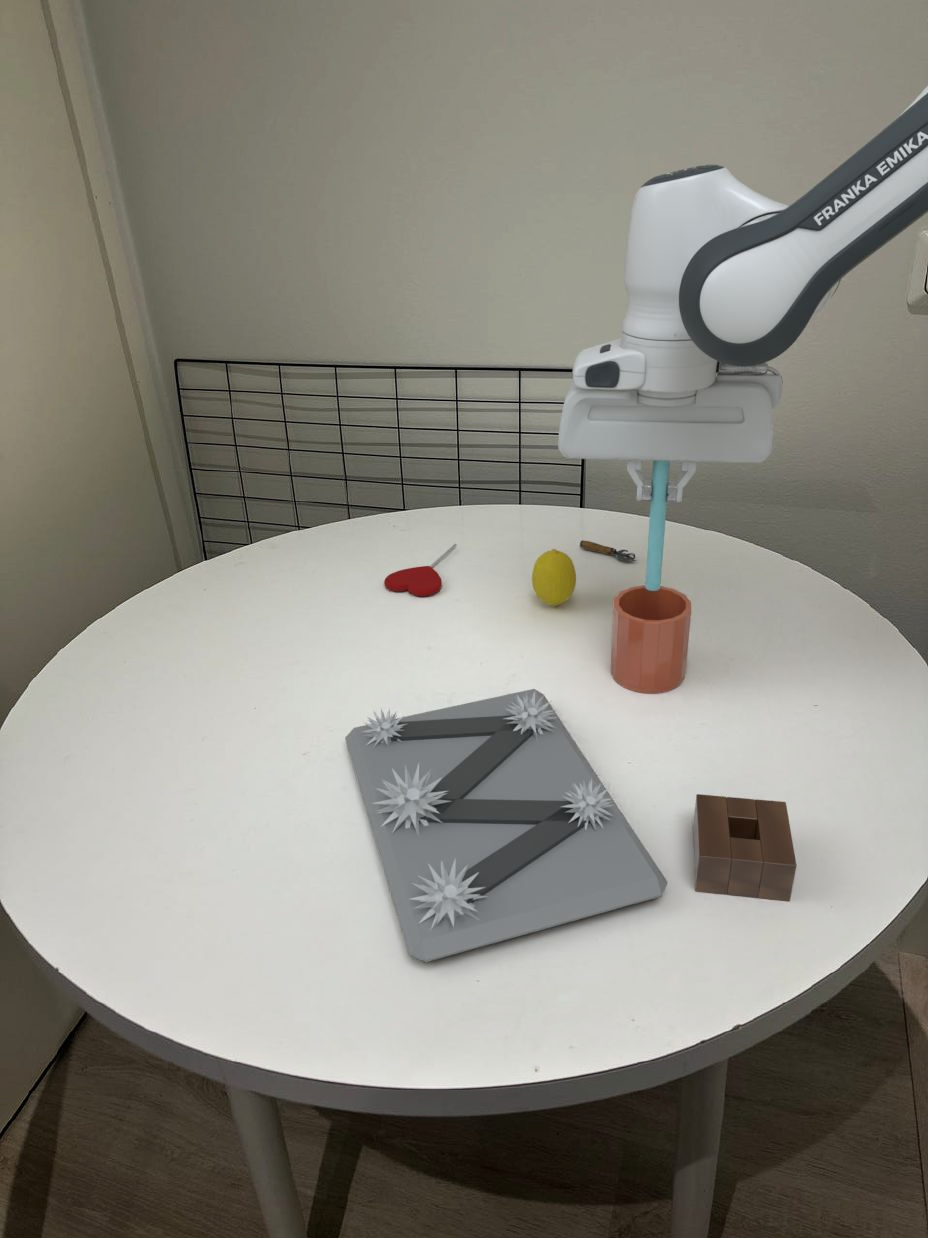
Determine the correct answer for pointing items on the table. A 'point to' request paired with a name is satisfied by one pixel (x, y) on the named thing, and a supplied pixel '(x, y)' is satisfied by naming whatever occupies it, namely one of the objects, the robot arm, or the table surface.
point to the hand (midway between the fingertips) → (658, 499)
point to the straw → (657, 524)
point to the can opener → (607, 550)
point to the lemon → (554, 577)
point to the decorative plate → (493, 824)
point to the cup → (650, 639)
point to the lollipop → (416, 579)
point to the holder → (743, 847)
